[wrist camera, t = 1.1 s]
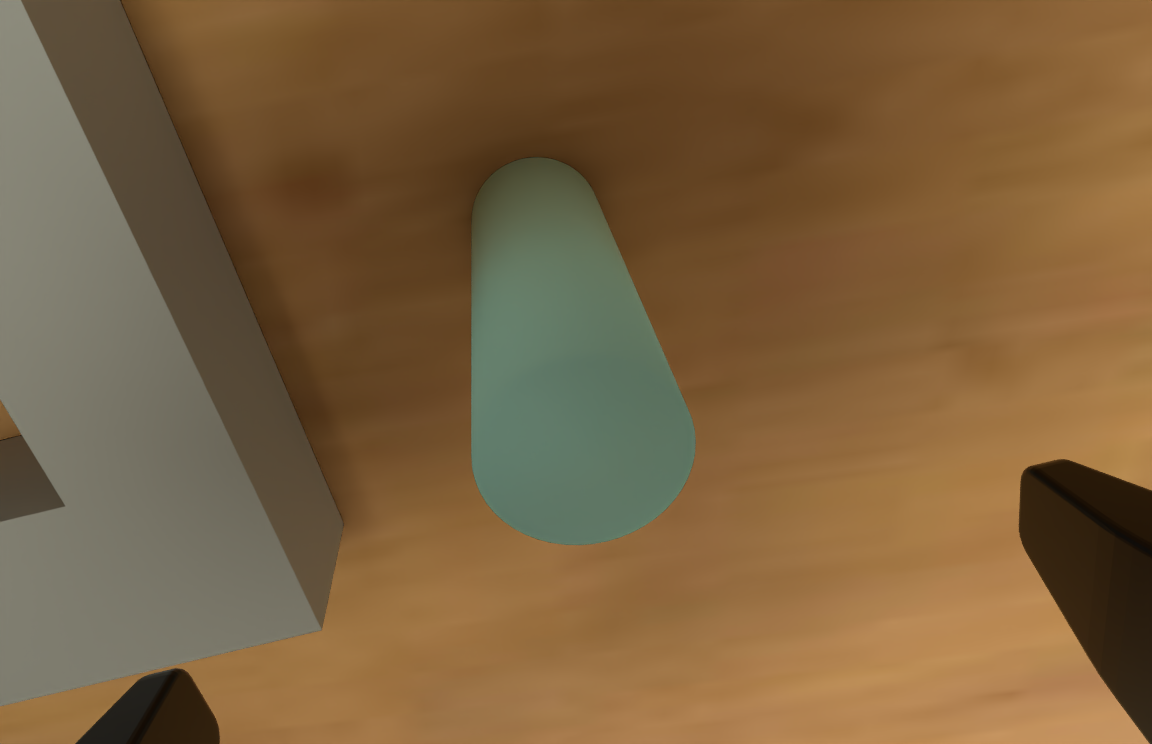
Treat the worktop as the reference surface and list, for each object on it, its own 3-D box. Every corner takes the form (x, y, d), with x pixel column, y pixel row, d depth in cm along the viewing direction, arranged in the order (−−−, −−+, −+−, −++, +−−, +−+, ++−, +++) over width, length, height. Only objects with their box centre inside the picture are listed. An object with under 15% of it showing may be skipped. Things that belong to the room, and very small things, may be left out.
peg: (489, 294, 21) (503, 565, 12) (456, 174, 20) (443, 385, 11) (610, 265, 21) (709, 517, 12) (586, 143, 20) (676, 329, 11)
